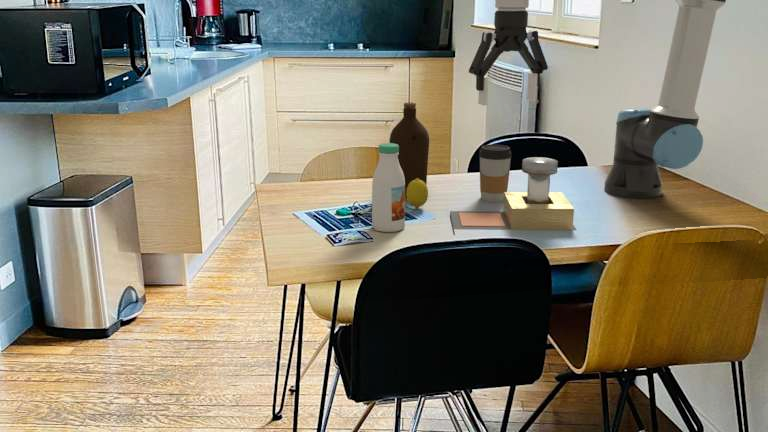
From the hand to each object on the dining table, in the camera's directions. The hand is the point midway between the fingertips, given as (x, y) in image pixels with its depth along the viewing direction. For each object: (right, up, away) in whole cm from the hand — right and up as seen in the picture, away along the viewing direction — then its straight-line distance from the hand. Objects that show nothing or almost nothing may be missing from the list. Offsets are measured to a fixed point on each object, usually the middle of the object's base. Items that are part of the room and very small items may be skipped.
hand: (507, 102), depth 178 cm
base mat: (+1, -29, +1) cm, 29 cm away
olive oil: (-22, -21, +27) cm, 41 cm away
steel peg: (+7, -28, 0) cm, 29 cm away
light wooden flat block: (+7, -28, 0) cm, 29 cm away
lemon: (-21, -25, +15) cm, 36 cm away
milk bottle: (-28, -30, 0) cm, 41 cm away
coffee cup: (-1, -24, +19) cm, 31 cm away
